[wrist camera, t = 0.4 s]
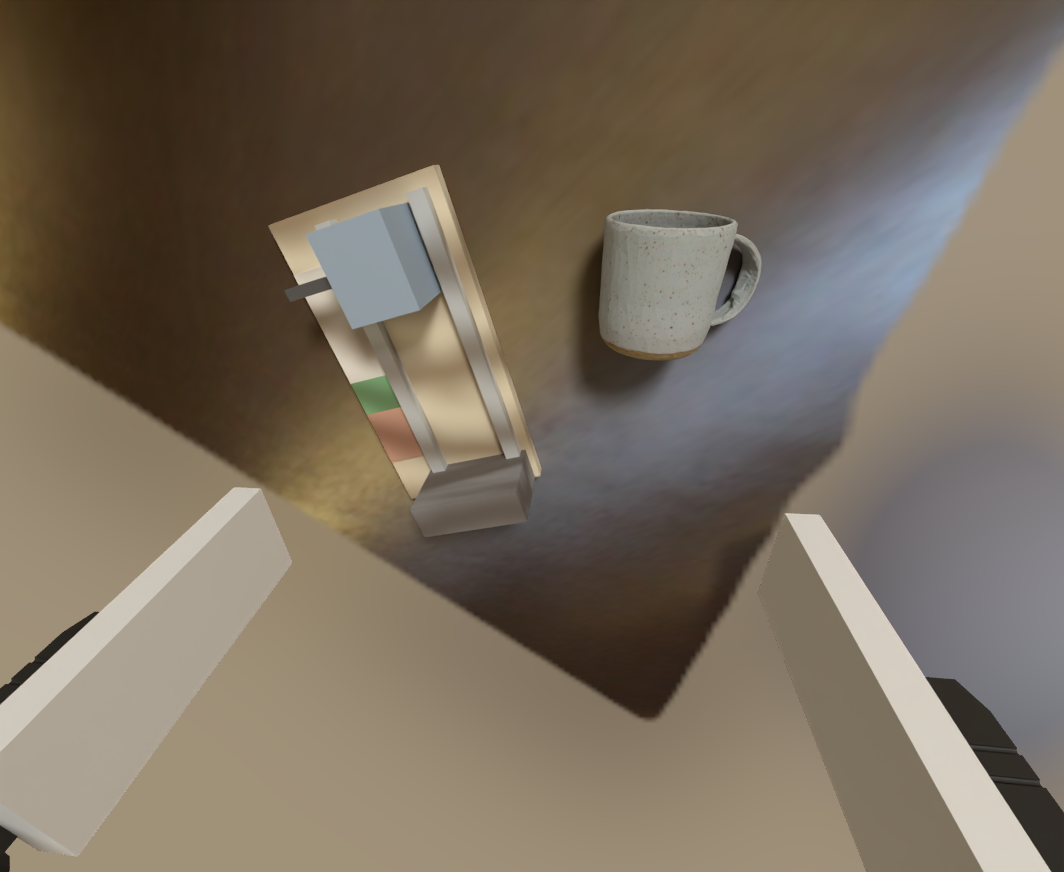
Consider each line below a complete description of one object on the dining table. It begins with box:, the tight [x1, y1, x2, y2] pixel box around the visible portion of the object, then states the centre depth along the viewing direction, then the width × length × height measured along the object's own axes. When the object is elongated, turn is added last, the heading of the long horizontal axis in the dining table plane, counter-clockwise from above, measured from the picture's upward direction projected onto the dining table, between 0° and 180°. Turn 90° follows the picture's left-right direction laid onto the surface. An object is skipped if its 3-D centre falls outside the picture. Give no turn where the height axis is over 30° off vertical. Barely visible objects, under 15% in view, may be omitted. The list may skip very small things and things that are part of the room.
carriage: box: [284, 203, 442, 329], centre depth 31 cm, size 6×9×5 cm, turn 106°
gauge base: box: [268, 165, 541, 537], centre depth 34 cm, size 25×13×7 cm, turn 16°
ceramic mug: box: [599, 209, 761, 360], centre depth 29 cm, size 11×8×8 cm
